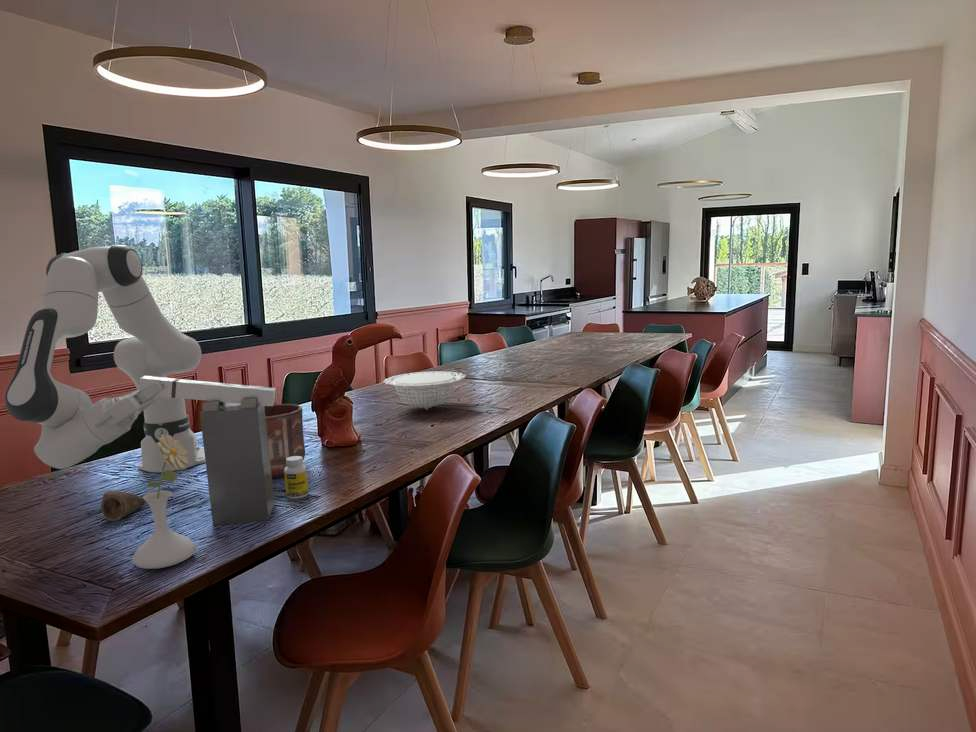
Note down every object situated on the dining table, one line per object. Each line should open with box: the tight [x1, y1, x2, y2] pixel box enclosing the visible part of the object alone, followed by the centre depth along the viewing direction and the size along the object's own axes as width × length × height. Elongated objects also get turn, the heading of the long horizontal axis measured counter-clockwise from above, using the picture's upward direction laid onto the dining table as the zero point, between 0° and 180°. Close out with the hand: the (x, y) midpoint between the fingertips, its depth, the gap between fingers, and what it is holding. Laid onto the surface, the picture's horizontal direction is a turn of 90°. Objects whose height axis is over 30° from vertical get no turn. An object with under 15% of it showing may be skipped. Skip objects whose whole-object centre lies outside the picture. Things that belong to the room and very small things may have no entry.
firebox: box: [199, 398, 275, 527], centre depth 152 cm, size 10×12×28 cm
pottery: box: [264, 403, 306, 479], centre depth 184 cm, size 18×18×18 cm
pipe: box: [100, 490, 146, 522], centre depth 160 cm, size 6×17×10 cm
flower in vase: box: [131, 434, 197, 570], centre depth 129 cm, size 13×11×25 cm
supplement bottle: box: [284, 456, 309, 500], centre depth 165 cm, size 5×5×10 cm
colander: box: [382, 370, 467, 411], centre depth 256 cm, size 32×32×13 cm
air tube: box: [139, 376, 277, 406], centre depth 148 cm, size 4×28×4 cm, turn 101°
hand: (164, 383), depth 146 cm, fingers closed on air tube, 4 cm apart
